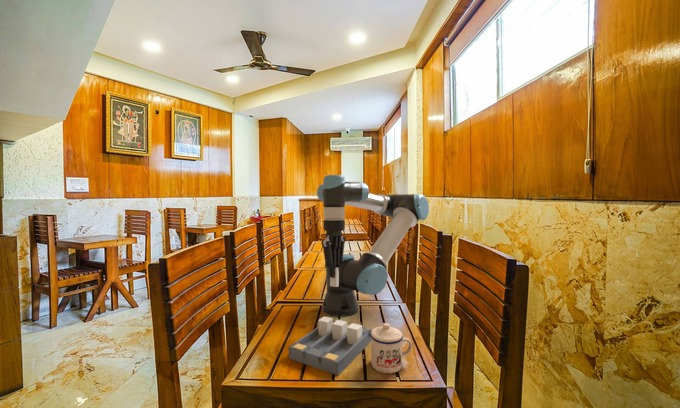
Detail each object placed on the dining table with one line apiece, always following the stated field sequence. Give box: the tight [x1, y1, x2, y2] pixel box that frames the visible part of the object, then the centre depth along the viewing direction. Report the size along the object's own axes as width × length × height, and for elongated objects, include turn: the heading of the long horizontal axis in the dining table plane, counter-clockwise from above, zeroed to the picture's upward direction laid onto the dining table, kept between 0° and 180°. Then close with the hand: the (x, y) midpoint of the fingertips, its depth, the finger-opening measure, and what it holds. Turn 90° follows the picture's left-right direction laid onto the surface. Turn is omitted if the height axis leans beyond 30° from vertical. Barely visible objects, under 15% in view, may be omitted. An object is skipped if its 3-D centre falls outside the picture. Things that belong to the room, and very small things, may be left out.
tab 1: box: [317, 315, 334, 336], centre depth 98 cm, size 4×4×5 cm
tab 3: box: [347, 322, 363, 345], centre depth 93 cm, size 4×4×5 cm
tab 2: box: [332, 319, 348, 340], centre depth 95 cm, size 4×4×5 cm
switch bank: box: [288, 320, 373, 376], centre depth 92 cm, size 22×17×4 cm
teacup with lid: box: [370, 322, 413, 374], centre depth 83 cm, size 12×9×12 cm
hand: (334, 285), depth 103 cm, fingers closed
